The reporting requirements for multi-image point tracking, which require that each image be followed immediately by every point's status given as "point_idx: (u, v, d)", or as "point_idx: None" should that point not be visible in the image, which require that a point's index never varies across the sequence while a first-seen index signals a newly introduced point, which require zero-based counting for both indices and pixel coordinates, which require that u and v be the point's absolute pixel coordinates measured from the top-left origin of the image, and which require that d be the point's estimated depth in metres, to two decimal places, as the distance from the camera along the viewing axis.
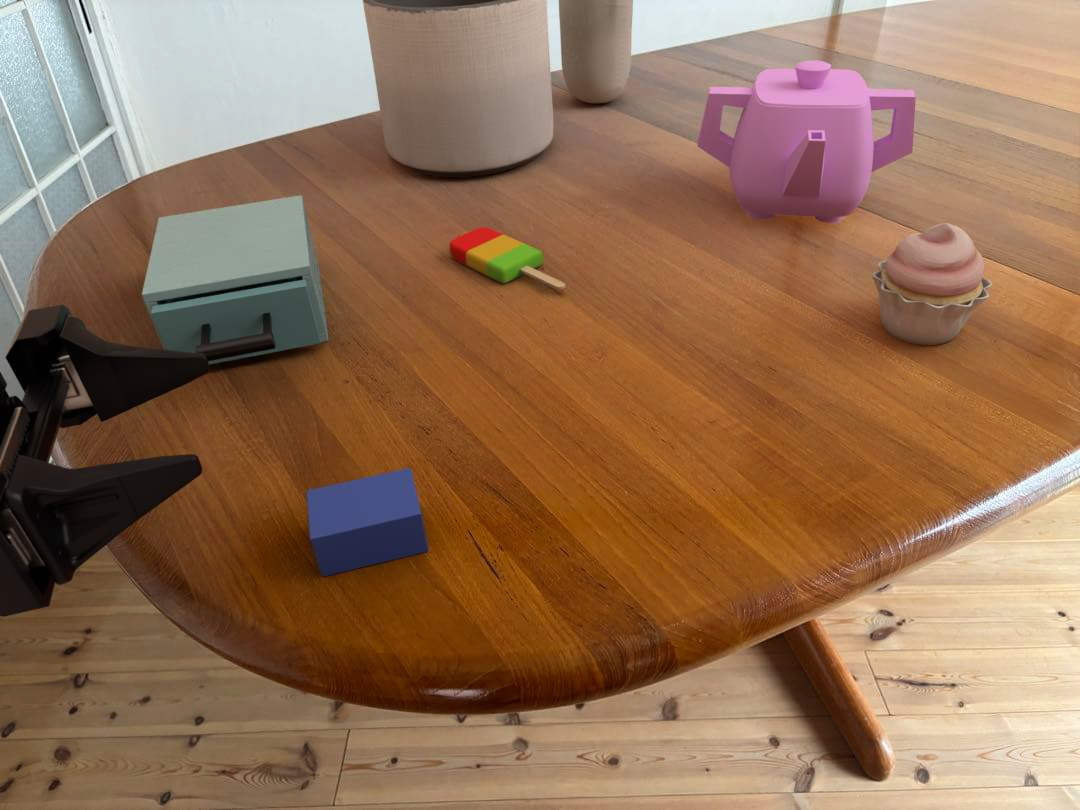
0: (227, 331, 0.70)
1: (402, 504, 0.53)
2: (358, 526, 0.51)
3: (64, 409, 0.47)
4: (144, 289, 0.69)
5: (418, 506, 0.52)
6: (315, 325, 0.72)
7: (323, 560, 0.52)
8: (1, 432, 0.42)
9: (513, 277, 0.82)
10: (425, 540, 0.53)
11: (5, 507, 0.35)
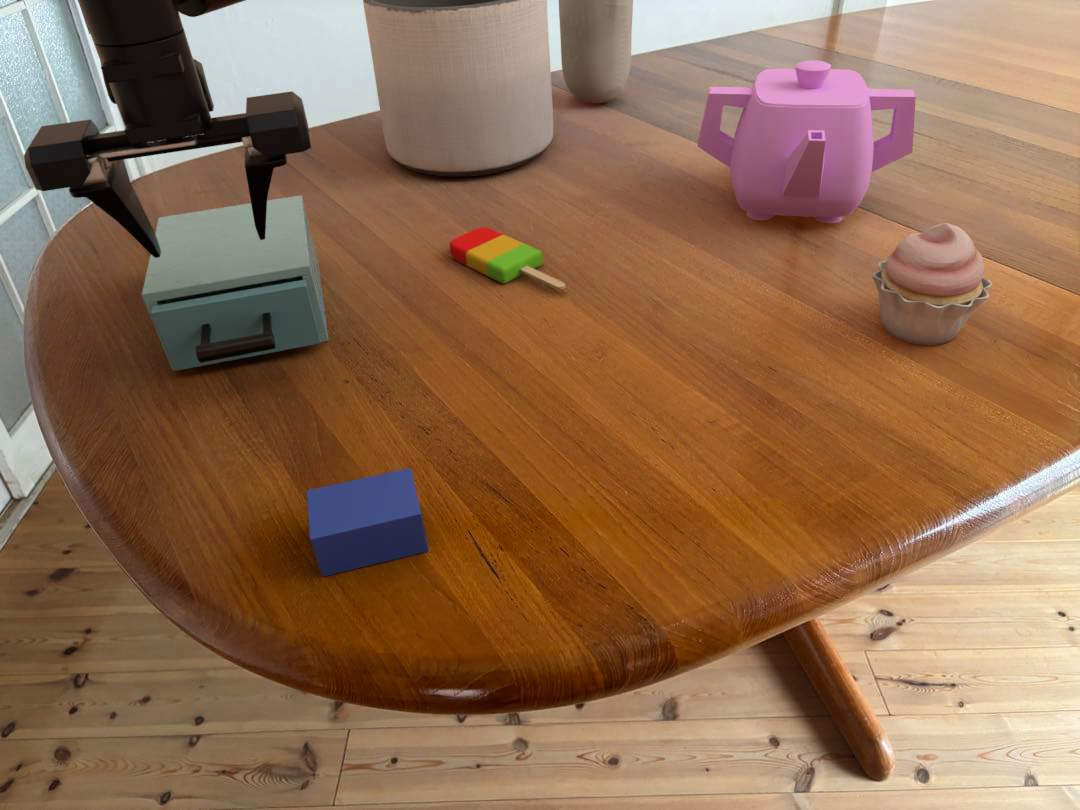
0: (227, 331, 0.70)
1: (402, 504, 0.53)
2: (358, 526, 0.51)
3: (103, 158, 0.57)
4: (144, 289, 0.69)
5: (418, 506, 0.52)
6: (315, 325, 0.72)
7: (323, 560, 0.52)
8: None
9: (513, 277, 0.82)
10: (425, 540, 0.53)
11: None
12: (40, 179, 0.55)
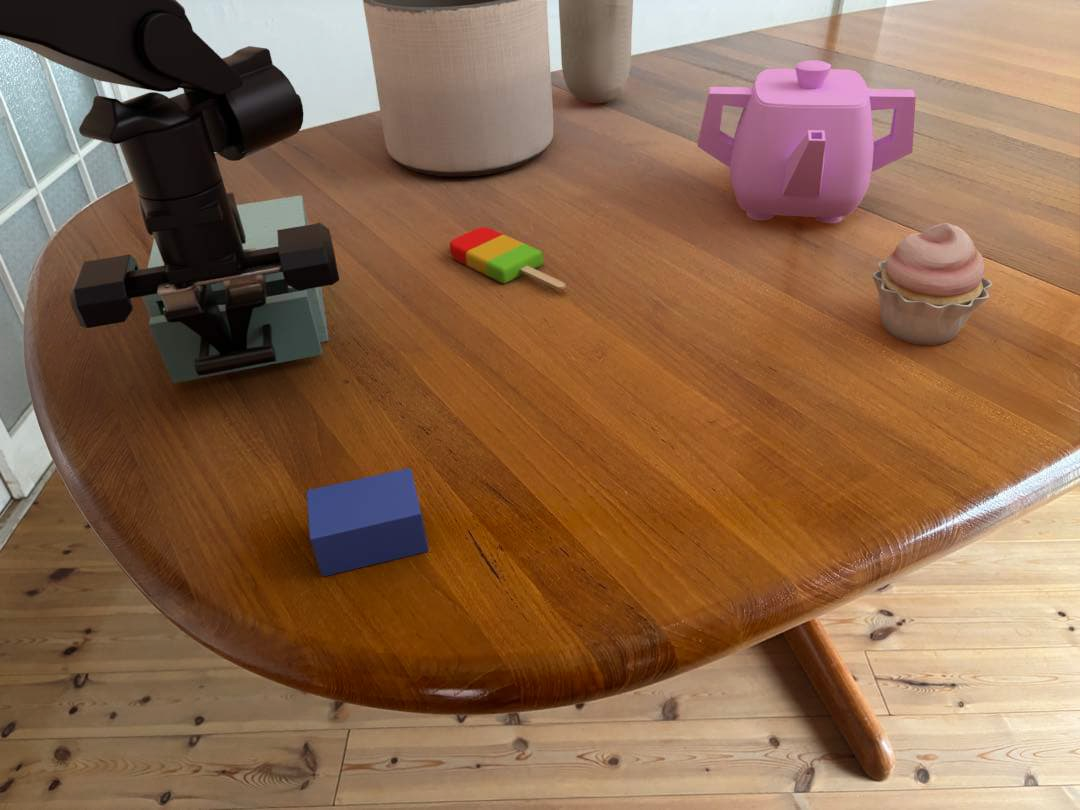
0: None
1: (402, 504, 0.53)
2: (358, 526, 0.51)
3: (197, 285, 0.61)
4: None
5: (418, 506, 0.52)
6: (316, 336, 0.71)
7: (323, 560, 0.52)
8: None
9: (513, 277, 0.82)
10: (425, 540, 0.53)
11: None
12: (85, 318, 0.59)
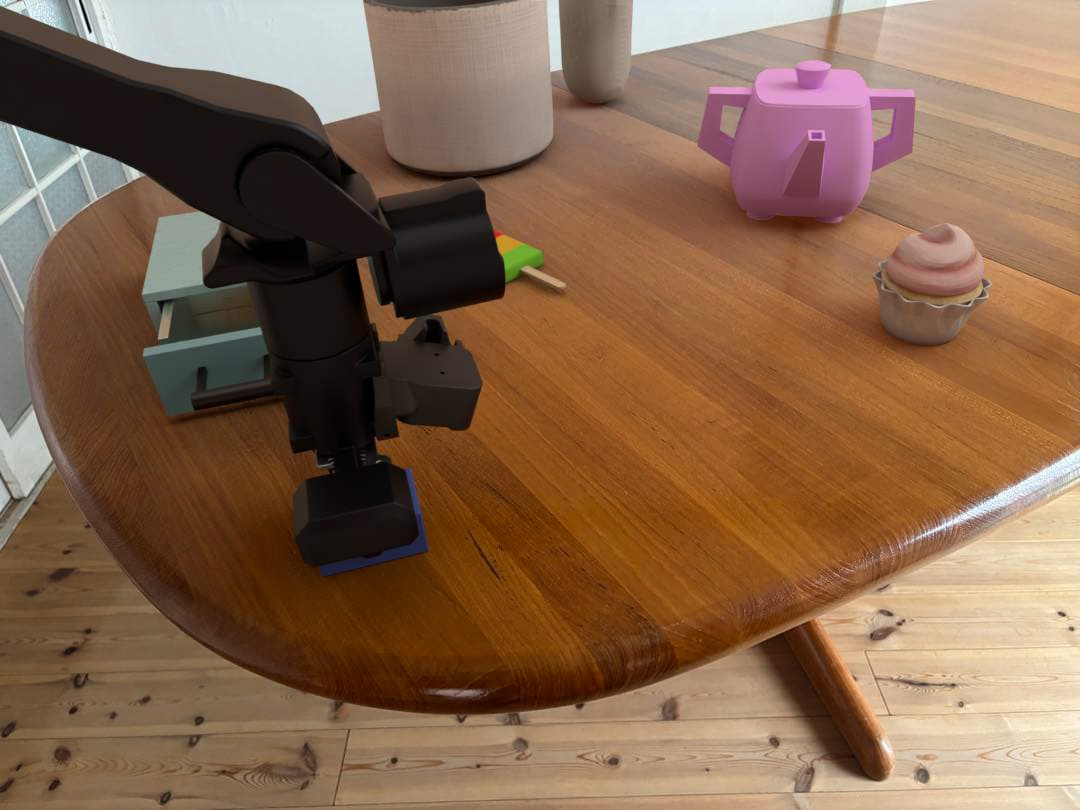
0: (225, 373, 0.65)
1: None
2: None
3: None
4: (144, 289, 0.69)
5: (418, 506, 0.52)
6: None
7: None
8: None
9: (513, 277, 0.82)
10: (425, 540, 0.53)
11: None
12: None
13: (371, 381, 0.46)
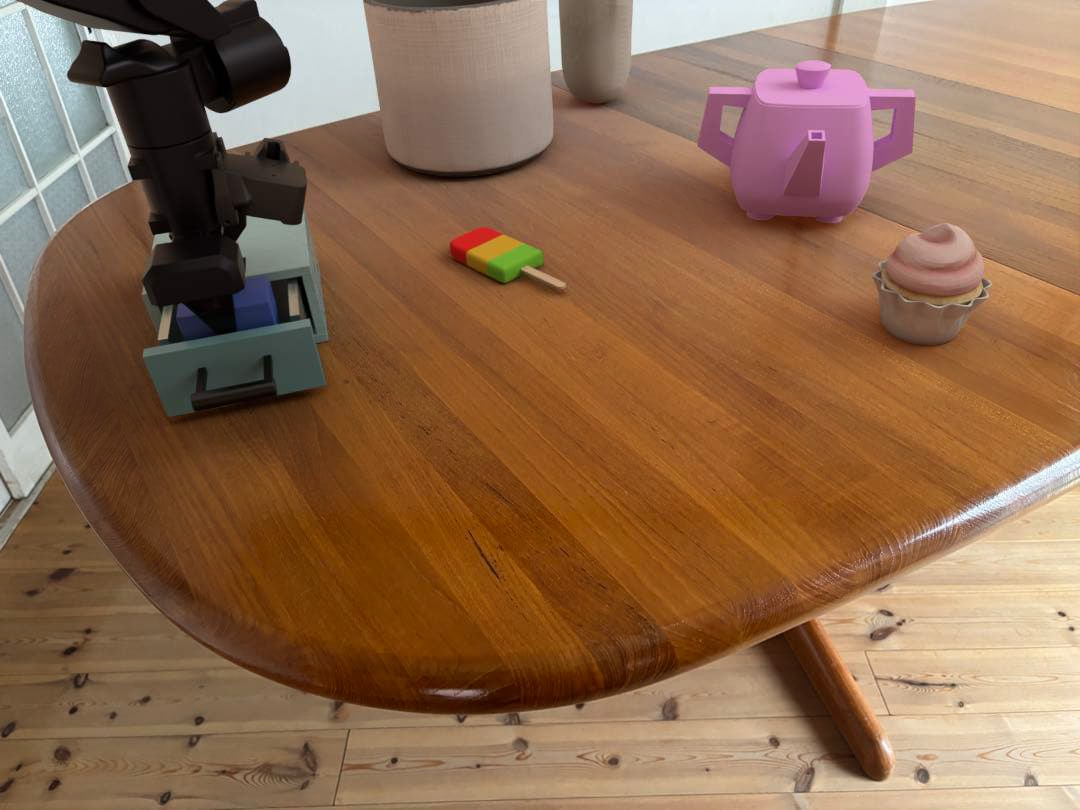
0: (225, 374, 0.65)
1: (255, 296, 0.65)
2: None
3: None
4: (144, 289, 0.69)
5: (267, 297, 0.65)
6: (320, 367, 0.67)
7: (189, 339, 0.64)
8: None
9: (513, 277, 0.82)
10: None
11: None
12: None
13: (212, 175, 0.58)
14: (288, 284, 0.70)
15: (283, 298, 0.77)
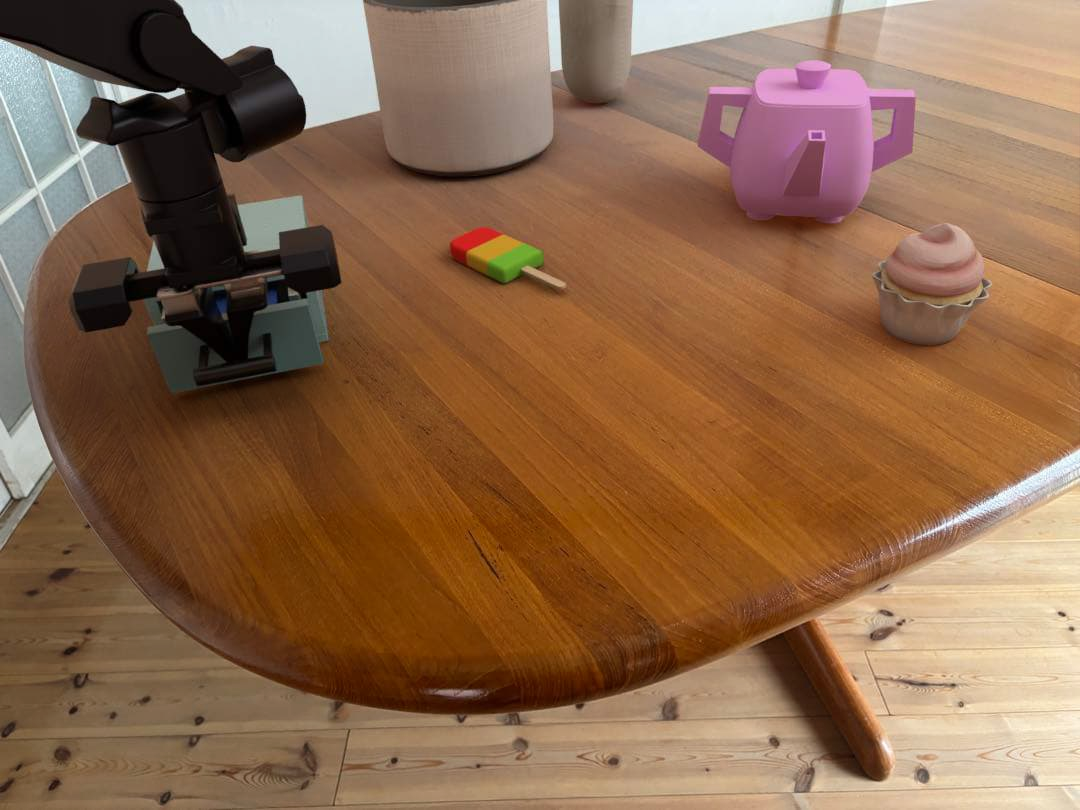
0: None
1: None
2: None
3: (197, 289, 0.60)
4: None
5: None
6: (317, 345, 0.69)
7: None
8: None
9: (514, 277, 0.82)
10: None
11: None
12: (84, 322, 0.58)
13: None
14: None
15: (282, 282, 0.80)
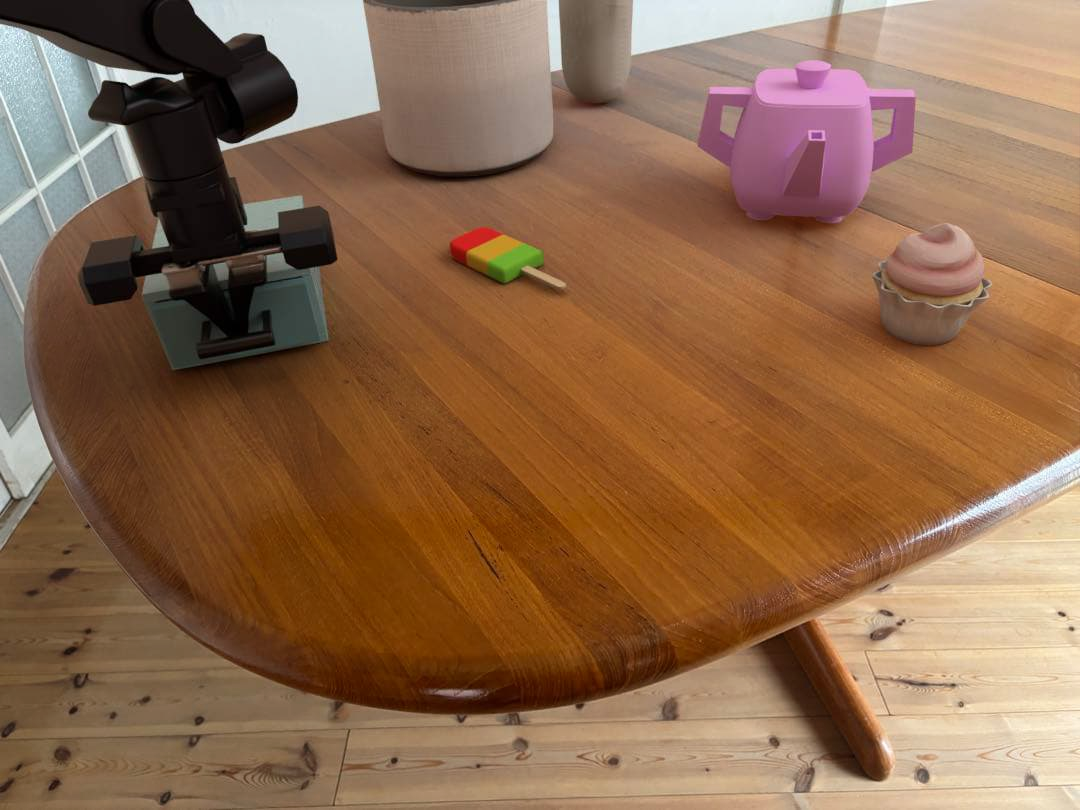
0: None
1: None
2: None
3: (200, 265, 0.63)
4: (144, 289, 0.69)
5: None
6: (315, 322, 0.72)
7: None
8: None
9: (514, 277, 0.82)
10: None
11: None
12: (92, 295, 0.61)
13: None
14: None
15: None
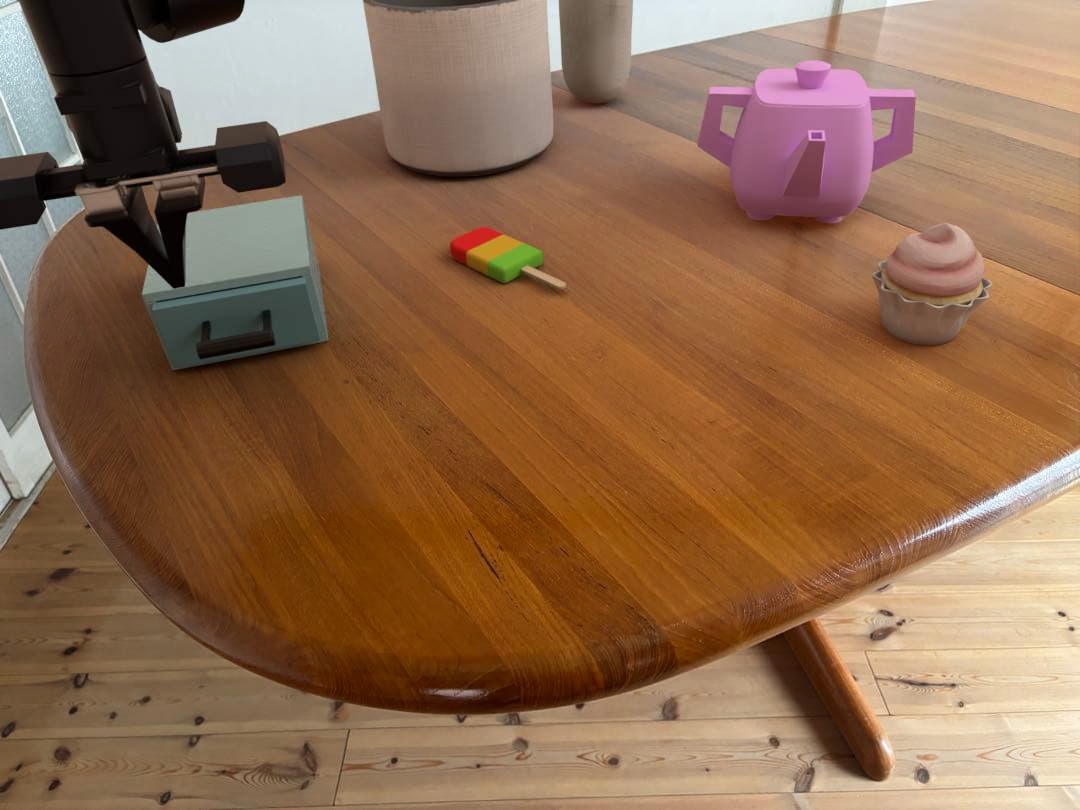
0: (227, 328, 0.70)
1: (263, 283, 0.73)
2: None
3: (121, 185, 0.53)
4: (144, 289, 0.69)
5: None
6: (315, 322, 0.72)
7: None
8: None
9: (514, 277, 0.82)
10: None
11: None
12: None
13: None
14: None
15: None
